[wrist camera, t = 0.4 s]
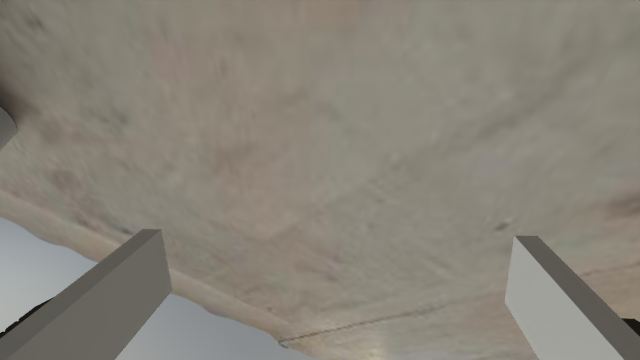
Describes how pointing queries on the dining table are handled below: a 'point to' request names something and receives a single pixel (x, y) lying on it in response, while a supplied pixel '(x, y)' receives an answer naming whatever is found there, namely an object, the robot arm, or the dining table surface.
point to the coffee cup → (6, 128)
